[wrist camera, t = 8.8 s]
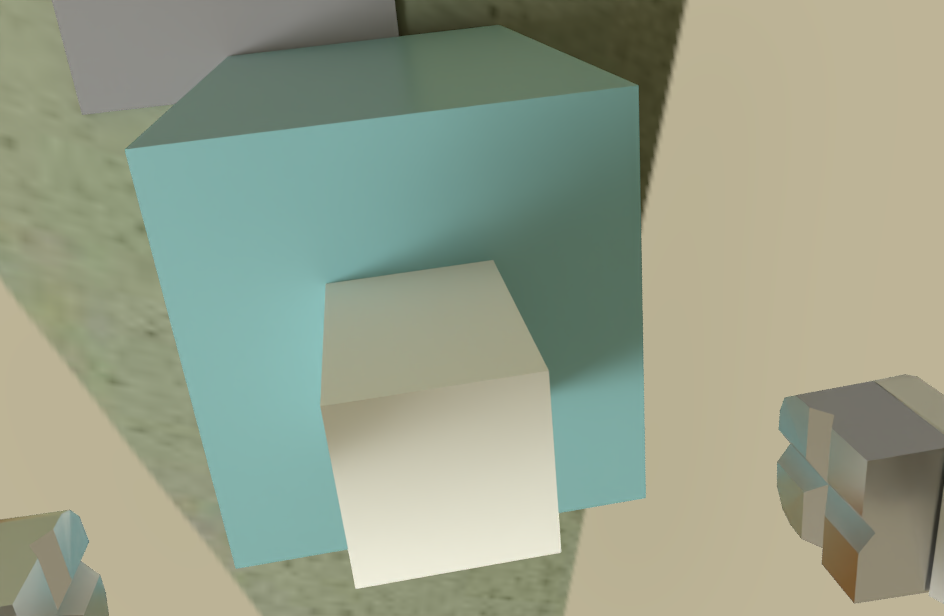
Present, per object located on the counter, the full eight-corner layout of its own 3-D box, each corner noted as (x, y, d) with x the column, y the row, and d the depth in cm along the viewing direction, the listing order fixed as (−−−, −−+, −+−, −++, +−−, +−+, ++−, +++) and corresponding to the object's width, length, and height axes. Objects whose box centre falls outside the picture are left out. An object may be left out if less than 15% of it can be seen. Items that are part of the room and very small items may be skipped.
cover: (228, 56, 26) (32, 232, 9) (499, 24, 27) (756, 135, 10) (280, 308, 29) (203, 761, 13) (519, 273, 30) (735, 658, 14)
